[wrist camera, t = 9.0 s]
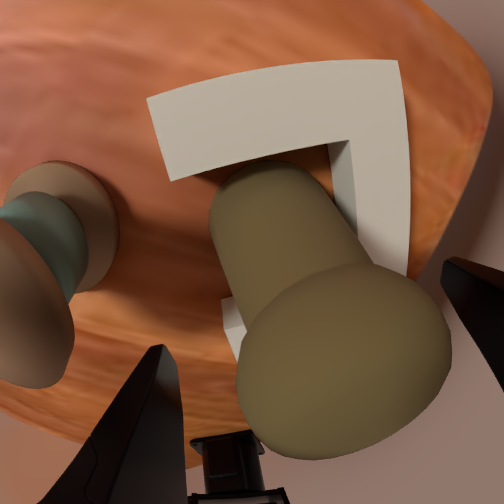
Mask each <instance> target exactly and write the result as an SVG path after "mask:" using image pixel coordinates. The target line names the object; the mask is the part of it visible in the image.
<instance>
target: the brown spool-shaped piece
mask: <svg viewBox="0 0 504 504" xmlns="http://www.w3.org/2000/svg"><path fill="white" fill-rule="evenodd" d="M118 243H119V223H118V218H117V213H116V210H115V207H114V205H113V202H112V200H111V198H110V196H109V194H108V193H107V191H106V189H105V188H104V187H103V186H102V184H101V183H100V182H99V181H98V180H97V179H96V178H95V177H94V176H93V175H92V174H91V173H90V172H88V171H87V170H85V169H84V168H82V167H80V166H78V165H76V164H73V163H70V162H66V161H57V160H56V161H48V162H44V163H41V164H39V165H37V166H35V167H33V168H30V169H28V170H26V171H25V172H23V173H22V174H21V175H19V176H18V177H17V178H16V179H15V181H14V182H13V183H12V185H11V186H10V188H9V190H8V192H7V194H6V197H5V200H4V204H3V206H2V207H1V208H0V378H1V379H3V380H5V381H7V382H9V383H12V384H14V385H17V386H21V387H25V388H32V389H41V388H47V387H50V386H52V385H54V384H56V383H57V382H58V381H59V380H60V379H61V378H62V376H63V374H64V372H65V369H66V366H67V363H68V361H69V358H70V355H71V353H72V350H73V347H74V339H75V333H74V324H73V319H72V315H71V312H70V309H69V305H68V304H69V302H70V300H71V299H72V297H73V295H74V294H76V293H81V292H84V291H87V290H89V289H91V288H92V287H94V286H95V285H96V284H98V283H99V282H100V281H101V280H102V279H103V277H104V276H105V274H106V273H107V271H108V269H109V267H110V265H111V263H112V261H113V259H114V257H115V255H116V252H117V248H118Z"/></svg>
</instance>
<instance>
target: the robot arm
mask: <svg viewBox="0 0 504 504" xmlns="http://www.w3.org/2000/svg"><path fill="white" fill-rule="evenodd" d="M440 283H441V286H442V288H443V290H444V292H445V293H446V295H447V297H448V298H449V300H450V302H451V304H452V305H453V307H454V309H455V311H456V313H457V314H458V316H459V318H460V320H461V321H462V323H463V324H464V326H465V327H466V329H467V331H468V332H469V334H470V335H471V337H472V338H473V340H474V341H475V343H476V345H477V346H478V348H479V349H480V351H481V353H482V354H483V356H484V358H485V359H486V361H487V363H488V364H489V366H490V368H491V370H492V371H493V373H494V375H495V377H496V379H497V380H498V382H499V384H500V386H501V388H502V390H503V392H504V272H503V271H500V270H497V269H494V268H491V267H488V266H485V265H481V264H478V263H475V262H472V261H468V260H465V259H462V258H459V257H455V256H453V257H450V258H448V259H446V260H445V261H444V262H443V267H442V273H441V279H440ZM190 446H191V447H192V448H194V449H195V450H196V451H197V452H198V453H199V454H200V455H201V456H202V458H203V470H204V482H205V493H206V494H197V493H192V496H187V487H186V472H185V454H184V428H183V409H182V402H181V394H180V386H179V378H178V370H177V365H176V362H175V360H174V359H173V357H172V356H171V354H170V352H169V351H168V349H167V347H166V346H165V345H164V344H159V345H154V346H151V347H150V348H149V349H148V350H147V352H146V353H145V355H144V356H143V357H142V359H141V360H140V362H139V363H138V365H137V366H136V368H135V369H134V370H133V372H132V373H131V375H130V376H129V378H128V379H127V381H126V382H125V384H124V385H123V386H122V388H121V389H120V391H119V392H118V394H117V395H116V397H115V398H114V400H113V401H112V403H111V404H110V406H109V407H108V409H107V410H106V412H105V413H104V415H103V416H102V418H101V419H100V421H99V422H98V424H97V425H96V427H95V428H94V430H93V431H92V433H91V437H90V436H89V437H88V439H87V440H86V442H85V443H84V445H83V447H82V448H81V449H80V451H79V452H78V454H77V455H76V457H75V458H74V460H73V461H72V462H71V464H70V465H69V466H68V467H67V469H66V470H65V471H64V473H63V474H62V475H61V477H60V478H59V479H58V480H57V481H56V483H55V484H54V486H53V487H52V488H51V489H50V490H49V492H48V493H47V494H46V495H45V497H44V498H43V499H42V500H41V501H39V502H38V503H37V504H290V502H289V500H288V497H287V495H286V492H285V490H284V488H283V487H281V488H277V489H273V490H265V486H264V481H263V477H262V472H261V466H260V461H259V456H258V455H262V454H264V453H265V451H264V448H263V447H262V445H261V443H260V442H259V440H258V438H257V437H256V436H255V435H254V433H253V431H245V432H240V433H235V434H229V435H223V436H217V437H210V438H203V439H196V440H191V441H190Z"/></svg>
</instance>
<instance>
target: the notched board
mask: <svg viewBox="0 0 504 504" xmlns="http://www.w3.org/2000/svg"><path fill="white" fill-rule="evenodd" d="M146 99H147V103H148V107H149V110H150V114H151V117H152V121H153V125H154V128H155V132H156V135H157V138H158V142H159V145H160V149H161V152H162V155H163V159H164V162H165V165H166V168H167V172H168V175H169V178H170V181H174V180H177V179H180V178H183V177H187V176H190V175H194V174H197V173H201V172H204V171H208V170H211V169H215V168H219V167H222V166H226V165H230V164H234V163H238V162H242V161H246V160H250V159H254V158H258V157H263V156H267V155H271V154H276V153H280V152H285V151H290V150H295V149H300V148H305V147H310V146H315V145H321V144H326V143H327V146H328V152H329V159H330V166H331V174H332V182H333V190H334V199H335V206H336V207H337V209H338V210H339V212H340V213H341V215H342V216H343V217H344V219H345V220H346V222H347V223H348V225H349V226H350V228H351V229H352V231H353V232H354V234H355V235H356V237H357V238H358V240H359V241H360V243H361V244H362V246H363V247H364V249H365V250H366V252H367V253H368V255H369V257H370V258H371V260H372V261H373V263H374V264H378V265H380V266H383V267H385V268H388V269H390V270H393V271H395V272H397V273H400V274H402V275H404V276H406V274H407V263H408V251H409V234H410V159H409V143H408V131H407V121H406V112H405V104H404V96H403V90H402V83H401V77H400V72H399V66H398V61H397V60H334V61H319V62H308V63H298V64H290V65H282V66H275V67H268V68H262V69H256V70H251V71H245V72H240V73H235V74H231V75H226V76H222V77H217V78H213V79H209V80H205V81H201V82H198V83H194V84H190V85H187V86H183V87H180V88H177V89H173V90H170V91H167V92H164V93H161V94H158V95H155V96H152V97H149V98H146ZM221 306H222V315H223V325H224V331H225V333H226V336H227V338H228V341H229V343H230V346H231V348H232V351H233V353H234V355H235V358H236V360H237V362H238V358H239V352H240V347H241V341H242V340H243V338H244V336H245V334H246V332H247V330H246V328H245V325H244V323H243V320H242V318H241V315H240V313H239V310H238V308H237V305H236V302H235V300H234V297H233V296H232V297H228V298H224V299H221Z"/></svg>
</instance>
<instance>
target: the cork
mask: <svg viewBox="0 0 504 504" xmlns="http://www.w3.org/2000/svg"><path fill="white" fill-rule="evenodd" d="M209 231H210V234H211V237H212V241H213V244H214V247H215V249H216V252H217V255H218V257H219V260H220V263H221V266H222V268H223V271H224V274H225V276H226V279H227V281H228V284H229V287H230V289H231V292H232V295H233V297H234V300H235V302H236V305H237V308H238V310H239V313H240V315H241V318H242V320H243V323H244V325H245V328H246V330H247V332H246V334H245V336H244V338H243V340H242V341H241V347H240V352H239V358H238V366H237V376H236V388H237V396H238V403H239V406H240V408H241V410H242V412H243V414H244V416H245V418H246V420H247V422H248V424H249V426H250V428H251V429H252V431H253V433H254V435H255V436H256V437H257V438H258V439H259V440H260V441H261V442H262V443H263V444H264V445H265V446H267V447H268V448H269V449H270V450H271V451H273V452H276V453H278V454H280V455H282V456H285V457H290V458H295V459H302V460H321V459H330V458H334V457H339V456H343V455H346V454H350V453H353V452H356V451H359V450H361V449H364V448H366V447H369V446H371V445H374V444H376V443H378V442H380V441H382V440H383V439H385V438H387V437H389V436H391V435H392V434H394V433H395V432H397V431H398V430H400V429H401V428H403V427H404V426H406V425H407V424H409V423H410V422H411V421H412V420H414V419H415V418H416V417H417V416H418V415H419V414H420V413H421V412H423V411H424V410H425V409H426V408H427V407H428V405H429V404H430V403H431V402H432V401H433V400H434V398H435V397H436V396H437V395H438V393H439V391H440V389H441V387H442V385H443V383H444V381H445V379H446V377H447V375H448V373H449V371H450V369H451V362H452V346H451V333H450V329H449V327H448V325H447V323H446V321H445V318H444V317H443V314H442V312H441V311H440V309H439V308H438V306H437V305H436V303H435V302H434V300H433V299H432V298H431V296H429V294H428V293H427V292H426V291H425V290H424V289H423V288H422V287H421V286H420V285H418V283H417V282H415V281H413V280H411V279H410V278H408V277H406V276H404V275H402V274H400V273H397V272H395V271H393V270H390V269H388V268H385V267H383V266H380V265H378V264H374V263H373V261H372V260H371V258H370V257H369V255H368V253H367V252H366V250H365V249H364V247H363V246H362V244H361V243H360V241H359V240H358V238H357V237H356V235H355V234H354V232H353V231H352V229H351V228H350V226H349V225H348V223H347V222H346V220H345V219H344V217H343V216H342V215H341V213H340V212H339V210H338V209H337V207H336V206H335V205H334V203H333V202H332V200H331V199H330V198H329V196H328V195H327V194H326V192H325V191H324V189H323V188H322V187H321V185H320V184H319V183H318V182H317V181H316V180H315V179H314V178H313V177H312V176H311V175H310V174H309V173H308V172H307V171H306V170H304V169H302V168H300V167H298V166H296V165H293V164H291V163H289V162H282V161H271V160H267V161H262V162H258V163H254V164H250V165H247V166H245V167H244V168H242V169H240V170H239V171H237V172H235V173H234V174H232V175H231V176H229V177H228V179H227V180H226V181H225V182H224V183H223V185H222V186H221V187H220V188H219V189H218V190H217V192H216V194H215V197H214V199H213V202H212V204H211V207H210V209H209Z"/></svg>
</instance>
